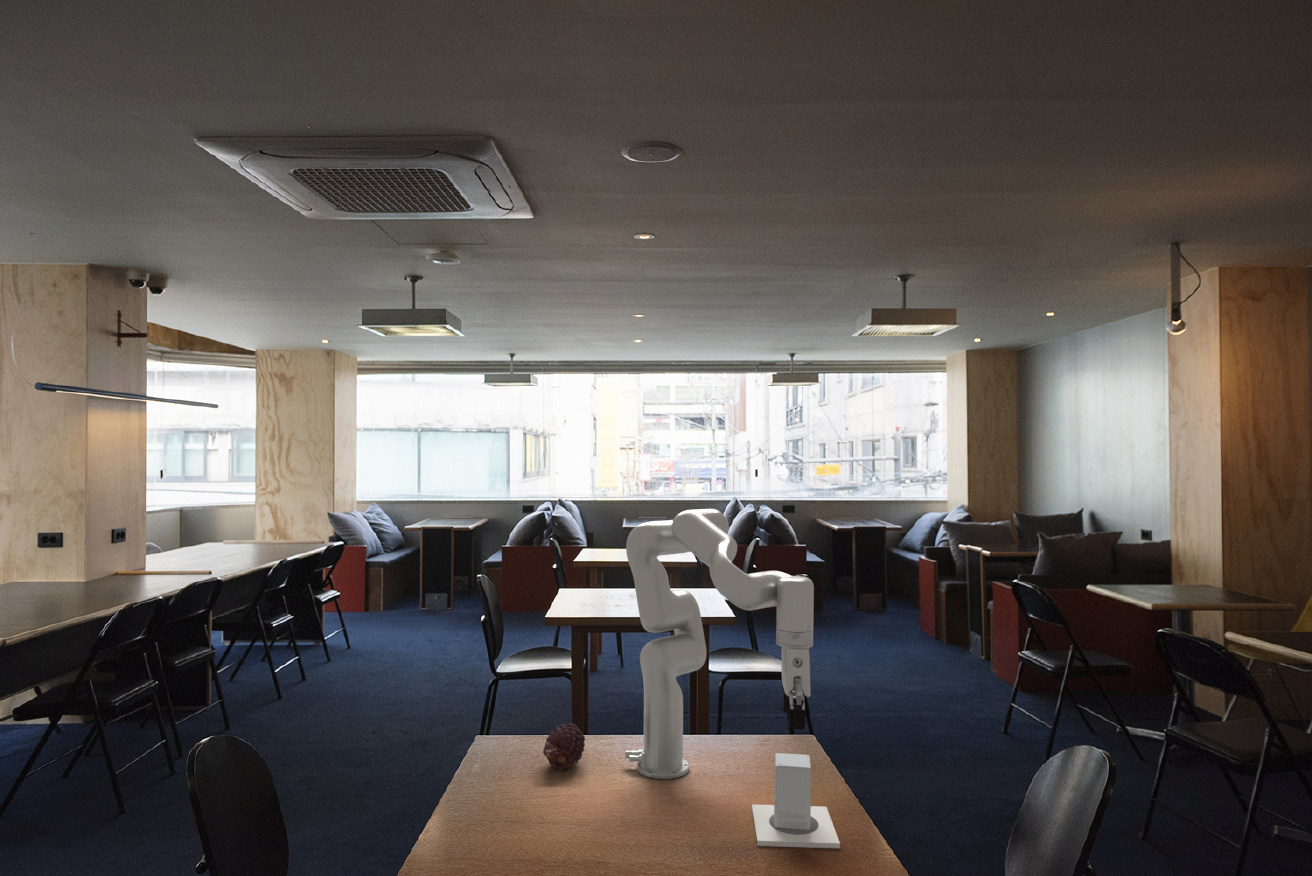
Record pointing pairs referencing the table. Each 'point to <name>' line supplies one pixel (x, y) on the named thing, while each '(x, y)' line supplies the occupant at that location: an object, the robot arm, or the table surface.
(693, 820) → the table surface
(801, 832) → the mat
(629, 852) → the table surface
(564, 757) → the pine cone
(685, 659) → the robot arm
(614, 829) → the table surface
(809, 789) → the supplement box
